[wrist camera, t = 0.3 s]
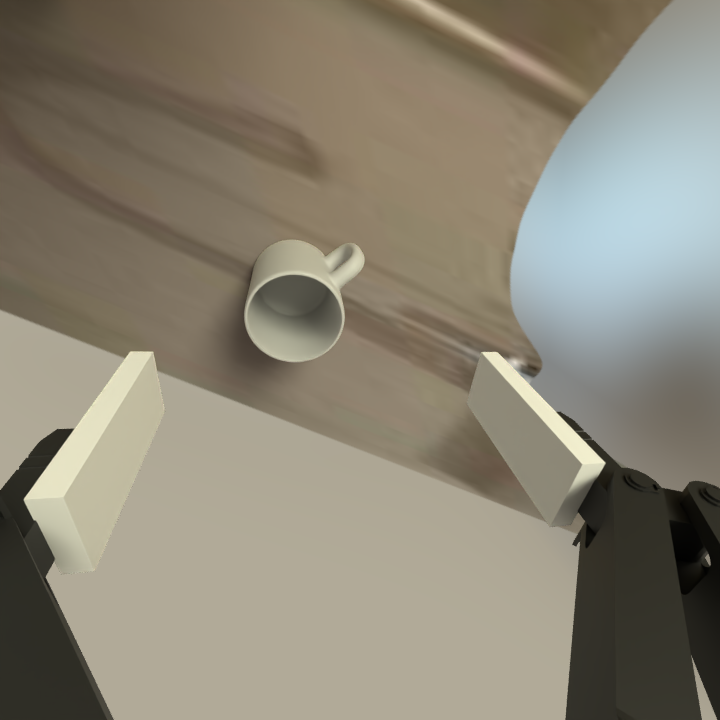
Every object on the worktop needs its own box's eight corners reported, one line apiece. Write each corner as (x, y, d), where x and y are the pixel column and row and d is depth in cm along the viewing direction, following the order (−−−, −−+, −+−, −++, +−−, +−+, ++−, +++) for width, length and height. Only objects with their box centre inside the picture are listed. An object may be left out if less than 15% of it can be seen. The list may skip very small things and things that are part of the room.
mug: (288, 329, 44) (288, 380, 35) (235, 271, 40) (219, 312, 30) (373, 266, 42) (398, 304, 33) (326, 199, 38) (340, 220, 28)
